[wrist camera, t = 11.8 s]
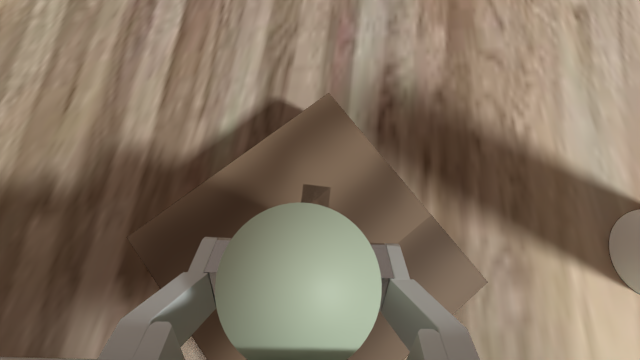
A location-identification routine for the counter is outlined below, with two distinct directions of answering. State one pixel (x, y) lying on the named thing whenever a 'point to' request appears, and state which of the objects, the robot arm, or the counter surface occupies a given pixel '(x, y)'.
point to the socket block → (317, 188)
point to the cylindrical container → (627, 248)
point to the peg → (298, 285)
